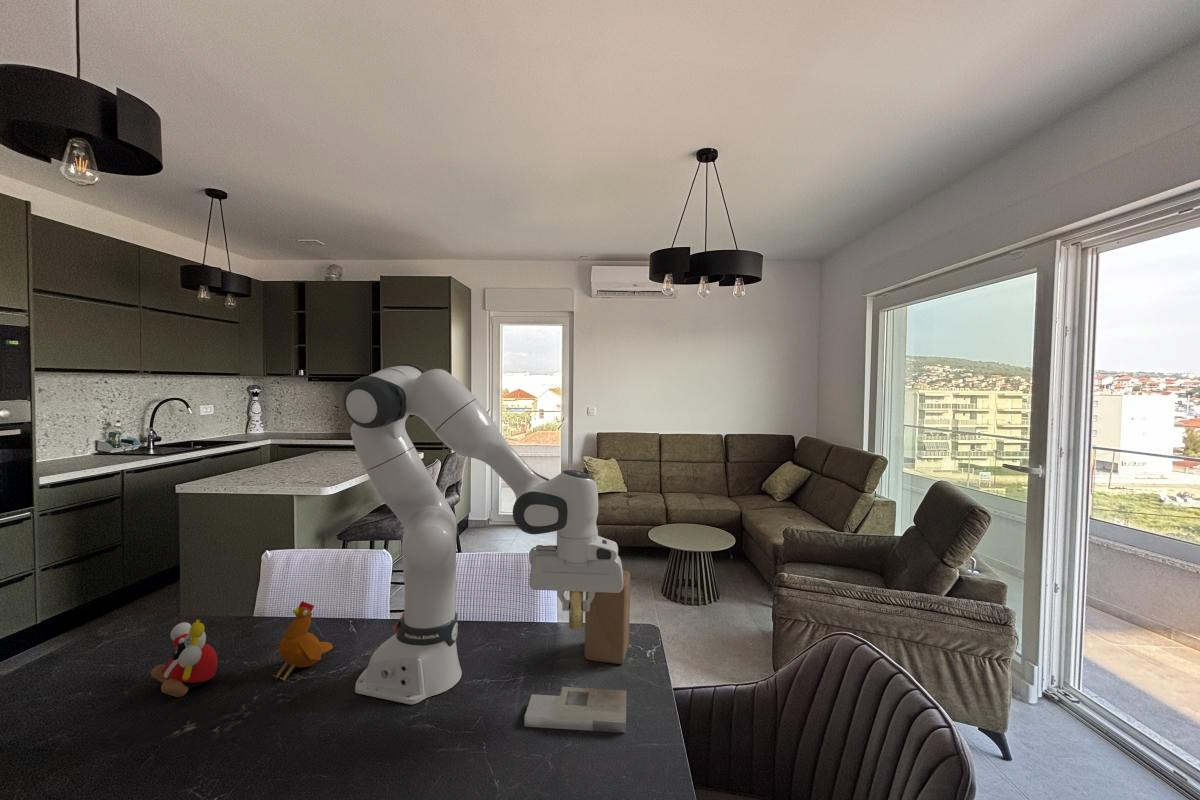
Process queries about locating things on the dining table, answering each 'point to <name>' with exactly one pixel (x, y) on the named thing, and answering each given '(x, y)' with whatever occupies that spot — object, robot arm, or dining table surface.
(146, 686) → the dining table surface
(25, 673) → the dining table surface
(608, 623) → the wooden block
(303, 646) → the toy
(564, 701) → the stepped socket block
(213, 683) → the dining table surface
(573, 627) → the pin
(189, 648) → the toy
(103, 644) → the dining table surface
